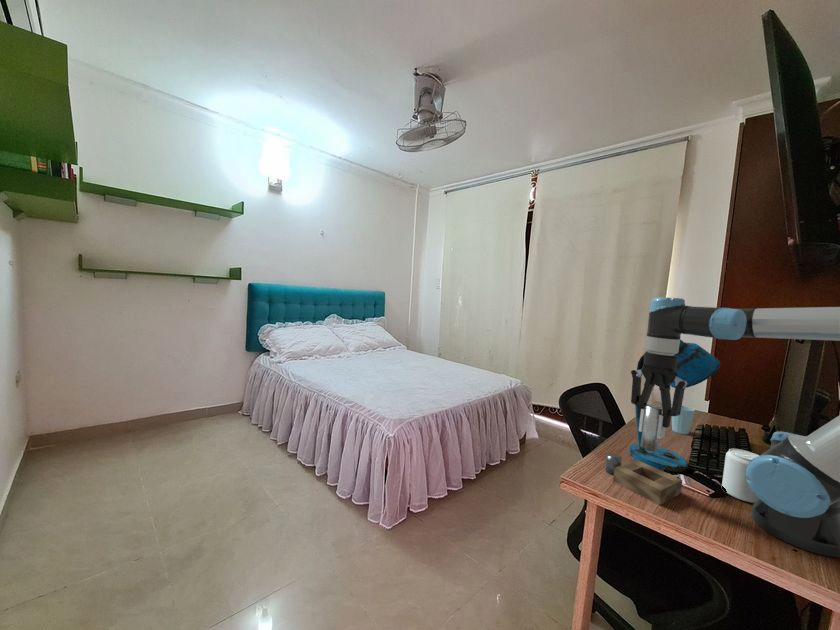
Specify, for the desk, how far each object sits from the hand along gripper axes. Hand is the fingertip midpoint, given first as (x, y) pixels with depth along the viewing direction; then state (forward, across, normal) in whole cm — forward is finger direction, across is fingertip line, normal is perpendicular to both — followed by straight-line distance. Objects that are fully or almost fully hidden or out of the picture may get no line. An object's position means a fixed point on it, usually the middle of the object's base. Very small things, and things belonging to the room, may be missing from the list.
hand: (651, 433), depth 92 cm
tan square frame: (+16, 0, 0) cm, 16 cm away
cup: (+16, +16, -61) cm, 65 cm away
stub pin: (+16, +9, +1) cm, 18 cm away
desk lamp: (+16, +6, -24) cm, 29 cm away
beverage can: (+16, -14, -22) cm, 31 cm away
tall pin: (+4, 0, 0) cm, 4 cm away
